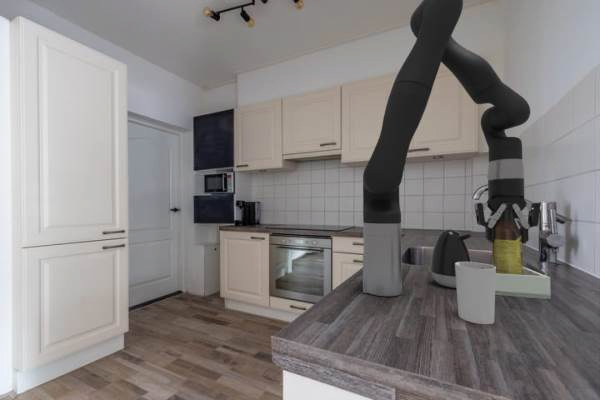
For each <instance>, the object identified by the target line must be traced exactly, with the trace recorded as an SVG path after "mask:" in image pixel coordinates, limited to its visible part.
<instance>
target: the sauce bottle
mask: <svg viewBox="0 0 600 400" xmlns="http://www.w3.org/2000/svg"><path fill="white" fill-rule="evenodd" d="M503 204H505V205H506V208H505V210H504V211H503V216H502V217H499V219H498V220H497V221H496V223H495V225H494V226H493V228H494V243H491V252H492V253H491V256H492V257H491V260H492V265H493V266H495V267H496V273H500V274H516V275H523V267H524V261H523V260H524V259H523V258H524V257H523V244H522V237H521V233H520V231H519V229H520V227H519V225H518V224H517V222H516V221H515V220H514V219H515V218H514V217H513V215H512V203H503Z"/></svg>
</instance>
